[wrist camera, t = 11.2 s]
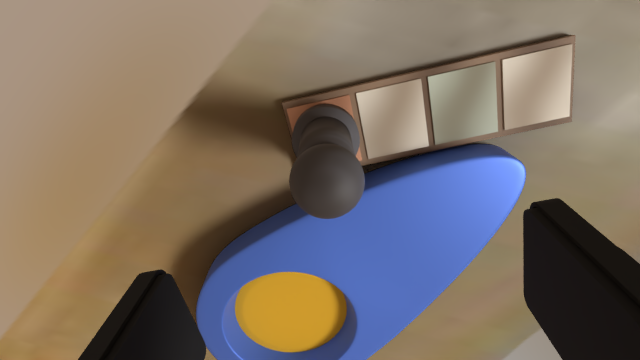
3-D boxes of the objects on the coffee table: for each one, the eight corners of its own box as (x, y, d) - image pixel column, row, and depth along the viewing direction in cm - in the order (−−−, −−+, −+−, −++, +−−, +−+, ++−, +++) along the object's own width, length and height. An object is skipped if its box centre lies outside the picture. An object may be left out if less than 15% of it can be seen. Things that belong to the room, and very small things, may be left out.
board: (569, 34, 21) (576, 35, 21) (566, 119, 23) (572, 122, 23) (282, 101, 23) (281, 103, 22) (302, 175, 25) (302, 178, 24)
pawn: (351, 97, 22) (367, 143, 14) (363, 159, 24) (383, 230, 16) (285, 111, 22) (267, 164, 15) (301, 172, 24) (292, 246, 16)
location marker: (447, 69, 23) (170, 287, 29) (469, 77, 20) (152, 319, 26) (545, 215, 27) (285, 379, 33) (576, 241, 24) (283, 416, 30)
